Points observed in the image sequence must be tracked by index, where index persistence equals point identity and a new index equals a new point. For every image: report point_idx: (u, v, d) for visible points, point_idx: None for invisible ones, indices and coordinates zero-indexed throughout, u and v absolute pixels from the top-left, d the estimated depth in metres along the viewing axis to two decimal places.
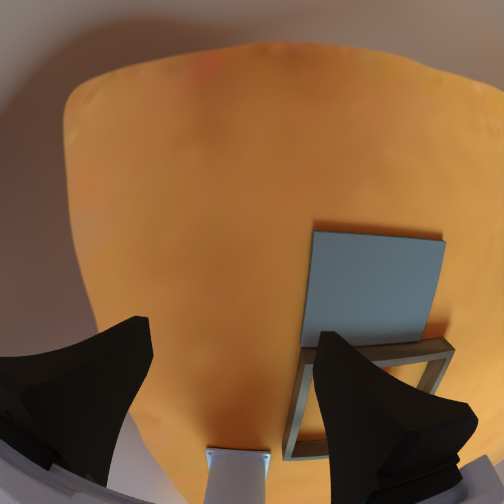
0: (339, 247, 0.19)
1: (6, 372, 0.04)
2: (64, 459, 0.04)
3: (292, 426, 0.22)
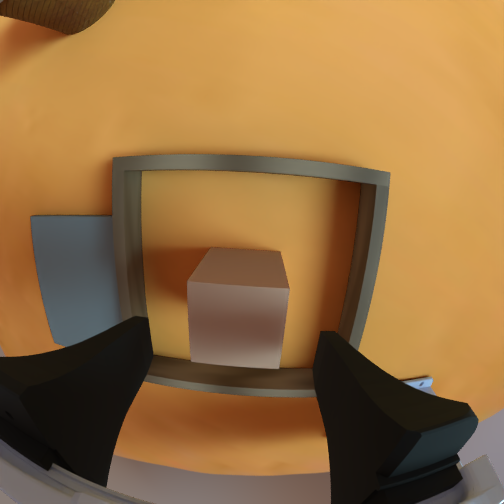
0: (56, 327, 0.19)
1: (6, 372, 0.04)
2: (64, 459, 0.04)
3: (243, 394, 0.17)
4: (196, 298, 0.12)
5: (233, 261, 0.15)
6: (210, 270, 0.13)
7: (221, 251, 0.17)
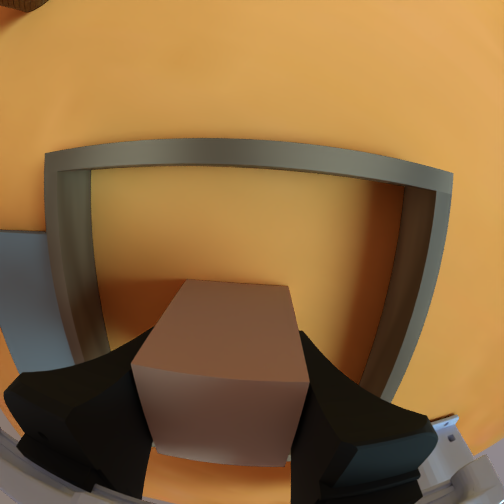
0: (18, 360, 0.14)
1: (42, 392, 0.04)
2: (106, 478, 0.04)
3: None
4: (150, 388, 0.06)
5: (215, 312, 0.09)
6: (175, 335, 0.07)
7: (200, 287, 0.11)
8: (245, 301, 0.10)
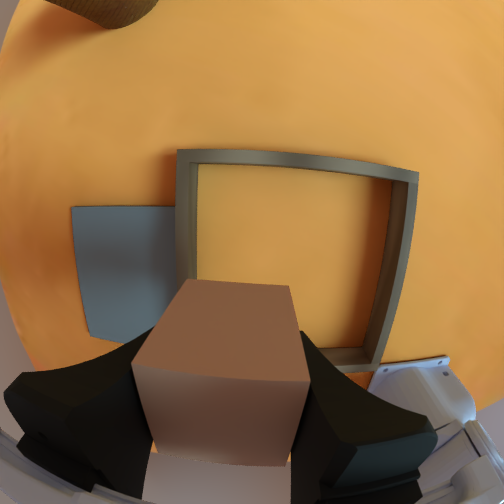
0: (94, 319, 0.21)
1: (42, 392, 0.04)
2: (106, 478, 0.04)
3: None
4: (150, 387, 0.06)
5: (216, 311, 0.09)
6: (175, 334, 0.07)
7: (201, 286, 0.11)
8: (245, 301, 0.10)
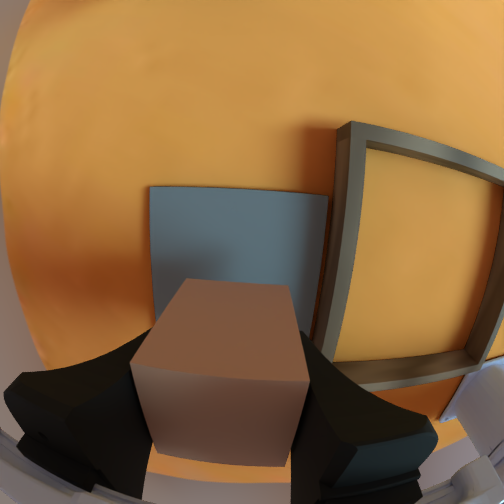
0: None
1: (42, 392, 0.04)
2: (106, 478, 0.04)
3: (418, 383, 0.15)
4: (149, 387, 0.06)
5: (215, 311, 0.09)
6: (174, 333, 0.07)
7: (200, 286, 0.11)
8: (245, 300, 0.10)
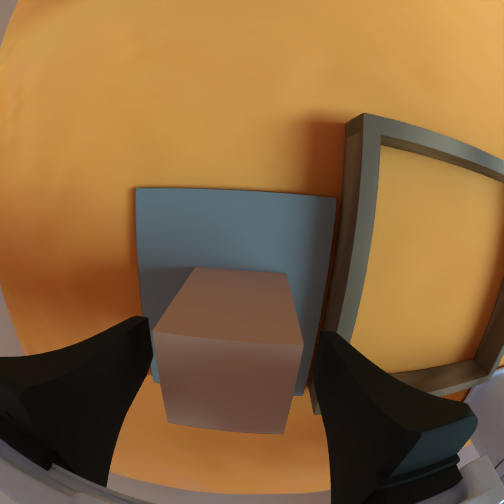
0: None
1: (6, 372, 0.04)
2: (64, 459, 0.04)
3: None
4: (167, 353, 0.08)
5: (223, 292, 0.11)
6: (189, 309, 0.09)
7: (209, 273, 0.12)
8: (248, 284, 0.11)
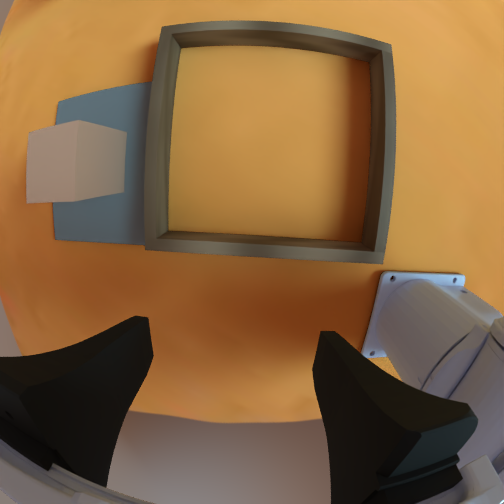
0: (61, 216, 0.18)
1: (6, 372, 0.04)
2: (64, 459, 0.04)
3: (274, 256, 0.17)
4: (31, 143, 0.11)
5: None
6: None
7: None
8: None
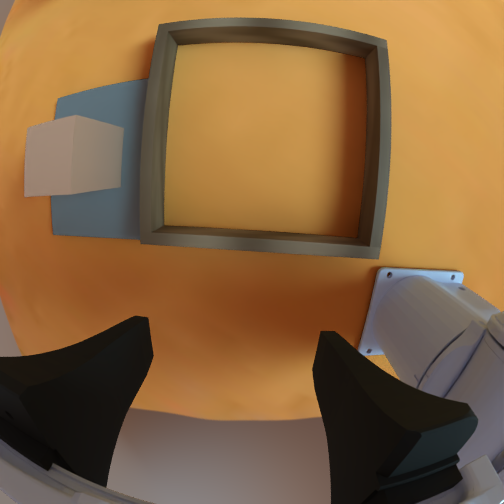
0: (59, 212, 0.18)
1: (6, 372, 0.04)
2: (64, 459, 0.04)
3: (268, 250, 0.17)
4: (30, 138, 0.11)
5: None
6: None
7: None
8: None
